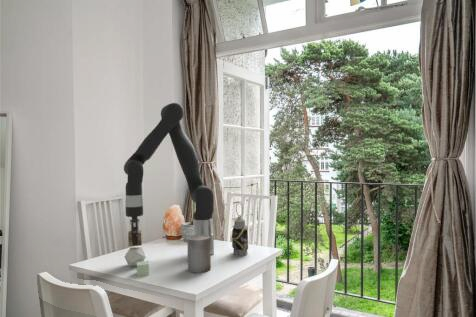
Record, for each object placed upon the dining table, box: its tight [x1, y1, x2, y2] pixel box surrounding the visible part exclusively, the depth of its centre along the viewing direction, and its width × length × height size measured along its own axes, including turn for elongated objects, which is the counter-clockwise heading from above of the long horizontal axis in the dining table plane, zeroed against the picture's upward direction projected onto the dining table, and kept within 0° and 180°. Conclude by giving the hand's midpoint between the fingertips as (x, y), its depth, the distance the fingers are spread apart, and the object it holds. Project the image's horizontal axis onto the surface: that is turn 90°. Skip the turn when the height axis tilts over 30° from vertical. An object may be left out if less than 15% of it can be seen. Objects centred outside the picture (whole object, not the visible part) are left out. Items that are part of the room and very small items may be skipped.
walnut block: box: [127, 229, 143, 247], centre depth 156 cm, size 6×6×6 cm
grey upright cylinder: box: [186, 234, 212, 274], centre depth 149 cm, size 10×10×15 cm
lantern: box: [231, 202, 249, 256], centre depth 171 cm, size 9×8×25 cm
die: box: [124, 246, 147, 268], centre depth 156 cm, size 8×9×10 cm
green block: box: [136, 260, 150, 277], centre depth 144 cm, size 4×4×4 cm
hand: (135, 242), depth 156 cm, fingers closed on walnut block, 5 cm apart
